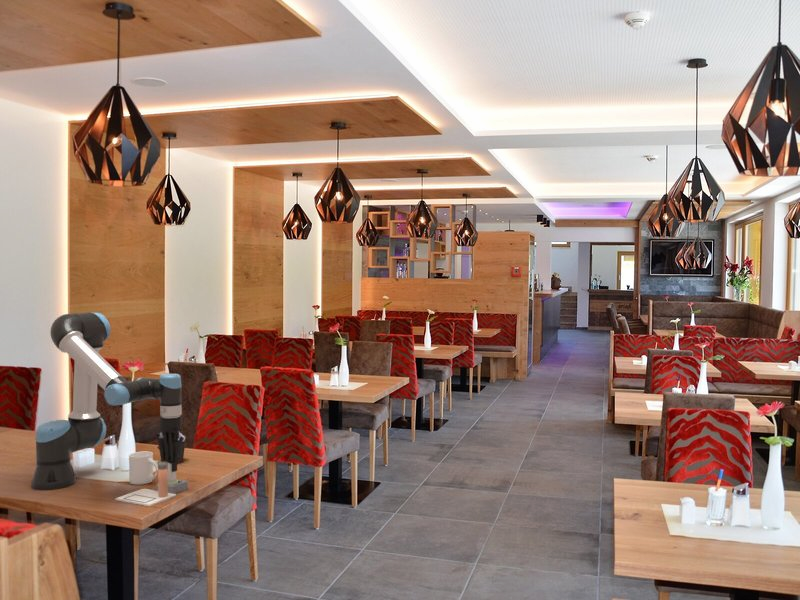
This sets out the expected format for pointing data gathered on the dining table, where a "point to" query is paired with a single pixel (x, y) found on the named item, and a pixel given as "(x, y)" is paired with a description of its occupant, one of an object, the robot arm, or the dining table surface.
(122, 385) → the robot arm
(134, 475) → the mug
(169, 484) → the button
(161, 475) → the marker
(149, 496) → the sheet
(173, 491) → the button housing
